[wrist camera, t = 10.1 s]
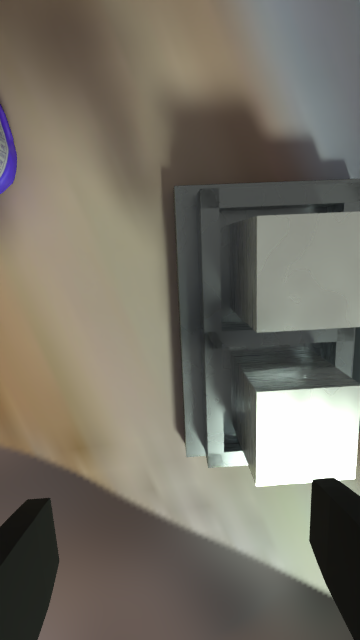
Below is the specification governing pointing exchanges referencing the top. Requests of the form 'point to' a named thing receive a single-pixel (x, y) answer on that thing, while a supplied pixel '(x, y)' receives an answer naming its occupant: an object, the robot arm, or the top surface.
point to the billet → (296, 271)
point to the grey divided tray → (214, 300)
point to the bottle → (6, 154)
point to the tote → (356, 358)
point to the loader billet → (294, 415)
